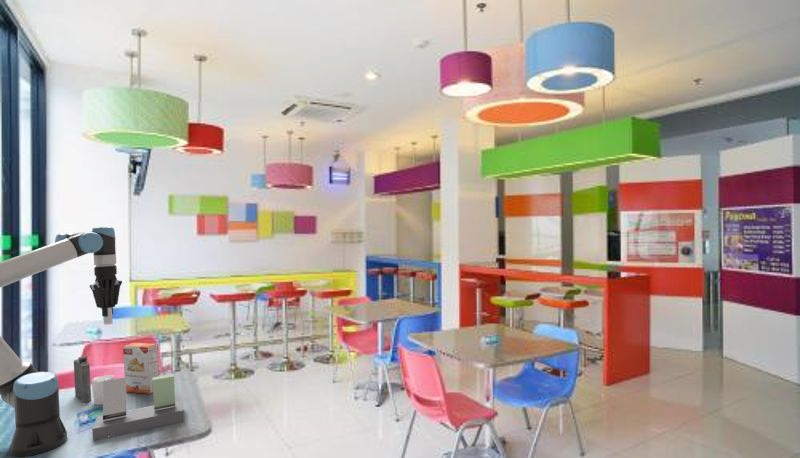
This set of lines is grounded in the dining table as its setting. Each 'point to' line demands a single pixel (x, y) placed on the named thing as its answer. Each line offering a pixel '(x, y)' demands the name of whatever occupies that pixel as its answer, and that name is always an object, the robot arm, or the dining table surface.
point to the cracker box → (140, 366)
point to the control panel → (138, 420)
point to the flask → (82, 379)
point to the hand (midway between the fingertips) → (108, 323)
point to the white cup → (99, 388)
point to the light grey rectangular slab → (114, 398)
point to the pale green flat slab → (163, 391)
